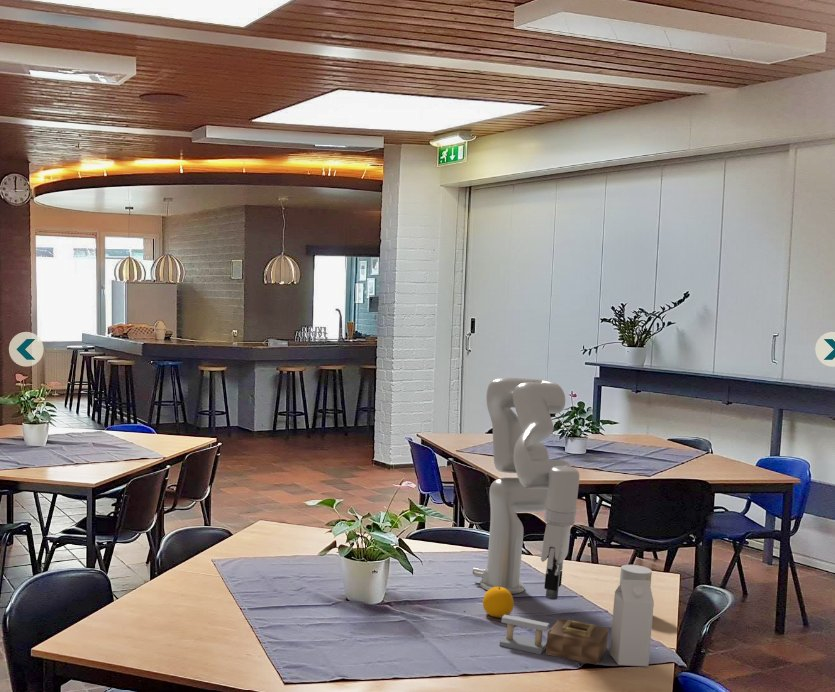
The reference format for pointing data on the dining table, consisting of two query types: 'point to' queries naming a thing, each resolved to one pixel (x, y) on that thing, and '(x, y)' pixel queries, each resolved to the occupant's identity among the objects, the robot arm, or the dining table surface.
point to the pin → (550, 593)
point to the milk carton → (632, 623)
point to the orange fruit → (498, 602)
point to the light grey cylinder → (635, 573)
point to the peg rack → (521, 642)
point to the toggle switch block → (577, 641)
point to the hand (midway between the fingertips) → (552, 586)
